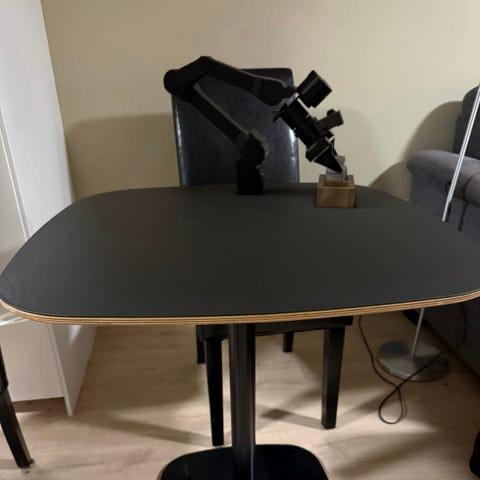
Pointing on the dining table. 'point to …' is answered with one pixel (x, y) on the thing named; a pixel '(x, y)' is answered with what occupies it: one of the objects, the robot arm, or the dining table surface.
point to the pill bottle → (335, 175)
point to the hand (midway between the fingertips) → (342, 169)
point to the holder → (335, 192)
